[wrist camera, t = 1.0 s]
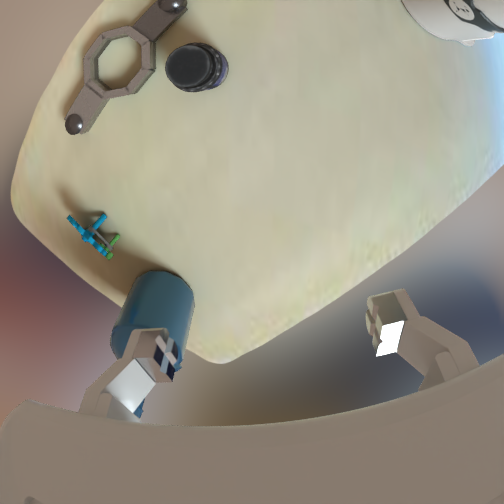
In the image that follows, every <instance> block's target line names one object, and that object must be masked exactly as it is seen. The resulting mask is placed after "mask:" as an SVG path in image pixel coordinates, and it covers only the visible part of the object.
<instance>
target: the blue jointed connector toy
mask: <svg viewBox="0 0 504 504" xmlns="http://www.w3.org/2000/svg"><path fill="white" fill-rule="evenodd" d="M106 218H107V216H106V215H105V214H102V215H101V216H100V218H99V219H98V220H97V221H96V222H95V223H94V224H93V226H91V225H90V226H89V228H88V229H87V230H84V229H83V228H82V227H81V226H80V225H79V224H78V223H77V222H76V221H75V220H74V219H73V218H72V217H71V216H70V215H69V216H68V217H67V219H68V220H69V222H70V223H71V224H72V225H73V226H74V227H75V228H76V229H77V230H78V231H79V232H80V233H81V235H82V236H83V237H82V240H83V241H84V242H86V241H88V242H90V243H91V244H92V245H93V246H94V247H95V248H96V249H97V250H98V251H99V252H100V253H101V254H102V255H103V256H105V257H106V258H107V259H108V260H110V259H111V258H112V257H113V254H112V253H111V252H110V251H109V250H112V249H113V247H112V246H113V244H114V243H115V242H116V241H117V240H118V239H119V237H120V236H119V235H118V234H117V235H116V236H115V237H114V238H113V240H112V241H111V242H110V243H108V242H107V241H106V240H105V239H104V238H103V237H102V236H101V235H100V234H99V233H98V232H97V231H96V229H97V228H98V227H99V226H100V225H101V224H102V222H103V221H104V220H105V219H106ZM94 234H96V235H97V236H98V237H99V238H100V239H101V240H102V241H103V242H104V243H105V246H106V247H105V246H104V245H103V244H102V243H100V244H98V243H97V242H96V241H95V240H94V239H93V235H94ZM103 248H104V249H105V250H106V251H107V252H108V253H107V252H106V251H105V250H104V249H103Z"/></svg>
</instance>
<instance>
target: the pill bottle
mask: <svg viewBox="0 0 504 504" xmlns="http://www.w3.org/2000/svg"><path fill="white" fill-rule="evenodd" d="M165 71H166V75H167V77H168V78H169V80H170V81H171V82H172V83H173V84H174V85H175V86H176V87H177V88H179V89H181V90H183V91H187V92H199V91H204V90H209V89H213V88H215V87H217V86H219V85H220V84H221V83H222V82H223V81H224V80H225V78H226V76H227V73H228V62H227V60H226V58H225V57H224V56H223V55H222V54H221V53H220V52H218V51H217V50H215V49H214V48H213V47H211V46H209V45H207V44H204V43H190V44H187V45H184V46H182V47H179V48H177V49H176V50H174V51H173V52H172V53H171V54H170V55H169V57H168V59H167V61H166V65H165Z"/></svg>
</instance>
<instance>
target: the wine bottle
mask: <svg viewBox="0 0 504 504" xmlns="http://www.w3.org/2000/svg"><path fill="white" fill-rule="evenodd" d="M194 308H195V302H194V297H193V292H192V289H191V288H190V287H189V286H188V285H187V284H186V283H185V282H184V280H183V279H182V278H180V277H178V276H175V275H173V274H171V273H169V272H167V271H149V272H147V273H145V274H143V275H141V276H139V277H138V278H136V280H135V282H134V284H133V286H132V288H131V290H130V292H129V294H128V296H127V298H126V301H125V303H124V305H123V307H122V309H121V312H120V314H119V316H118V318H117V320H116V323H115V325H114V327H113V330H112V334H111V337H110V346H111V348H112V351H113V353H114V354H115V356H116V358H117V360H118V359H119V358H122V357H123V354H124V351H125V348H126V346H127V343H128V340H129V338H130V335H131V332H132V331H133V330H134V329H150V328H166V329H167V330H168V332H169V333H170V334H169V338H171V339H173V340H174V341H175V343H176V345H177V348H178V359H177V361H176V362H175V364H174V365H173V366H174V368H175V372H176V371H178V370H180V369H181V368H182V366H181V364H180V363H181V362H182V360H183V357H184V353H185V348H186V344H187V339H188V334H189V330H190V325H191V321H192V316H193V312H194ZM144 400H145V398H144V399H143V401H142V402H141V403H140V405H139V406H138V407H137V408H136V410H135V411H134V412H133V414H135V415H136V416H137V417H138V418H140V417H141V414H142V412H143V410H142V407H143V403H144Z"/></svg>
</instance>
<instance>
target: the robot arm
mask: <svg viewBox="0 0 504 504" xmlns="http://www.w3.org/2000/svg"><path fill="white" fill-rule="evenodd" d="M402 2H403V4H404V5H405V7H406V9H407V10H408V12H409V13H410V14H411V16H412V17H413V18H414V19H415V20H416V21H417V23H418V24H420V25H421V26H422V27H423V28H424V29H425V30H427V31H428V32H429V33H431V34H433V35H435V36H436V37H439V38H441V39H445V40H455V41H458V42H460V43H462V44H463V45H465V46H473V45H474V42H475V40H479V39H490V38H493V37H494V34H495V32H496V33H504V0H402ZM367 305H368V308H369V309H368V310H367V311H366V325H367V329H368V332H369V334H370V335H371V336H373V346H374V348H375V351H376V354H377V356H378V355H382V354H387V353H391V352H395V351H397V353H398V354H399V355H400V356H402V357H403V358H404V359H405V360H406V361H408V362H409V363H410V364H411V365H412V366H413V367H414V368H416V369H417V370H418V371H419V372H420V373H422V374H423V375H424V376H425V378H424V380H423V382H422V384H421V386H420V388H419V389H418V391H419V392H416V393H413V394H410V395H408V396H404V397H401V398H398V399H395V400H391V401H388V402H384V403H381V404H377V405H373V406H369V407H365V408H361V409H357V410H353V411H348V412H344V413H339V414H334V415H328V416H323V417H317V418H311V419H305V420H297V421H289V422H281V423H272V424H260V425H245V426H211V427H210V426H174V425H160V424H149V423H141V420H140V418H138V417H137V416H136V415H135V414H133V412H134V411H135V410H136V408H137V407H138V406H139V405H140V403H141V402H142V401H143V399H144V398H145V397H146V395H147V394H148V393H149V391H150V390H151V389H152V388H153V386H154V385H155V382H173V378H174V373H175V368H174V366H173V365H174V364H175V362H176V361H177V359H178V348H177V345H176V343H175V341H174V340H173V339H171V338H169V334H170V333H169V332H168V330H167V329H166V328H150V329H134V330H133V331H132V332H131V335H130V338H129V340H128V343H127V346H126V348H125V351H124V354H123V357H122V358H119V359H118V360H117V361H116V362H115V363H114V364H113V365H112V366H111V367H110V368H109V369H107V370H106V371H105V372H104V373H103V374H102V375H101V376H100V377H99V378H98V379H97V380H96V381H95V382H94V383H93V384H92V385H91V386H90V387H88V389H86V392H85V394H84V397H83V400H82V403H81V406H80V409H79V412H74V411H70V410H66V409H62V408H58V407H55V406H51V405H47V404H44V403H41V402H37V401H34V400H31V399H27V400H25V401H24V402H22V403H21V404H19V405H18V406H17V407H16V408H15V409H14V410H13V411H12V412H10V413H9V414H8V415H7V417H6V418H5V420H4V422H3V424H2V426H1V428H0V504H504V354H502V355H500V356H499V357H497V358H495V359H493V360H491V361H489V362H487V363H485V364H483V365H481V366H479V364H478V362H477V360H476V358H475V356H474V354H473V352H472V350H471V348H470V346H469V344H468V343H467V341H465V340H463V339H461V338H460V337H458V336H456V335H455V334H453V333H452V332H450V331H448V330H446V329H445V328H443V327H441V326H439V325H438V324H436V323H435V322H433V321H431V320H429V319H428V318H426V317H424V316H422V317H420V315H419V313H418V312H417V310H416V308H415V306H414V304H413V303H412V301H411V299H410V297H409V296H408V294H407V292H406V291H405V289H403V288H402V289H399V290H394V291H390V292H386V293H382V294H378V295H374V296H369V297H368V299H367Z"/></svg>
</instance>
